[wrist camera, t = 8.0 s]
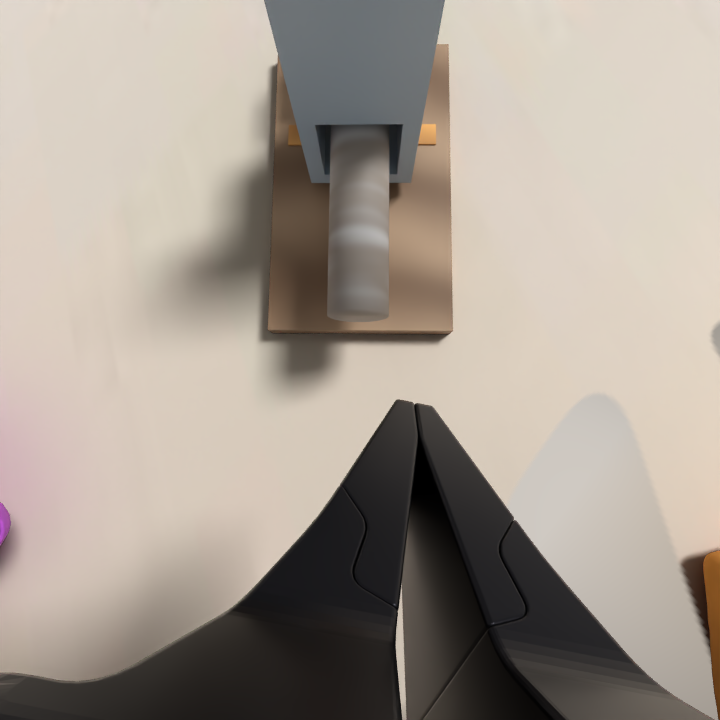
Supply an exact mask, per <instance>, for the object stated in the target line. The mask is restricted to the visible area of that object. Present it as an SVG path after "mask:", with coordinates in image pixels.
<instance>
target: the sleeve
mask: <svg viewBox="0 0 720 720" xmlns="http://www.w3.org/2000/svg"><path fill="white" fill-rule="evenodd" d="M264 2H265V5H266V9H267V13H268V17H269V21H270V25H271V29H272V32H273V36H274V40H275V44H276V48H277V52H278V56H279V60H280V63H281V67H282V71H283V75H284V79H285V83H286V87H287V90H288V94H289V98H290V102H291V106H292V110H293V114H294V117H295V121H296V125H297V129H298V133H299V137H300V141H301V144H302V148H303V152H304V156H305V160H306V164H307V168H308V172H309V175H310V179H311V183H330V149H331V125H366V124H389V183H411V180H412V174H413V169H414V163H415V158H416V153H417V147H418V142H419V136H420V131H421V126H422V120H423V115H424V109H425V104H426V99H427V93H428V88H429V83H430V77H431V72H432V66H433V61H434V56H435V50H436V45H437V39H438V34H439V29H440V23H441V18H442V12H443V7H444V2H445V0H264Z"/></svg>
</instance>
